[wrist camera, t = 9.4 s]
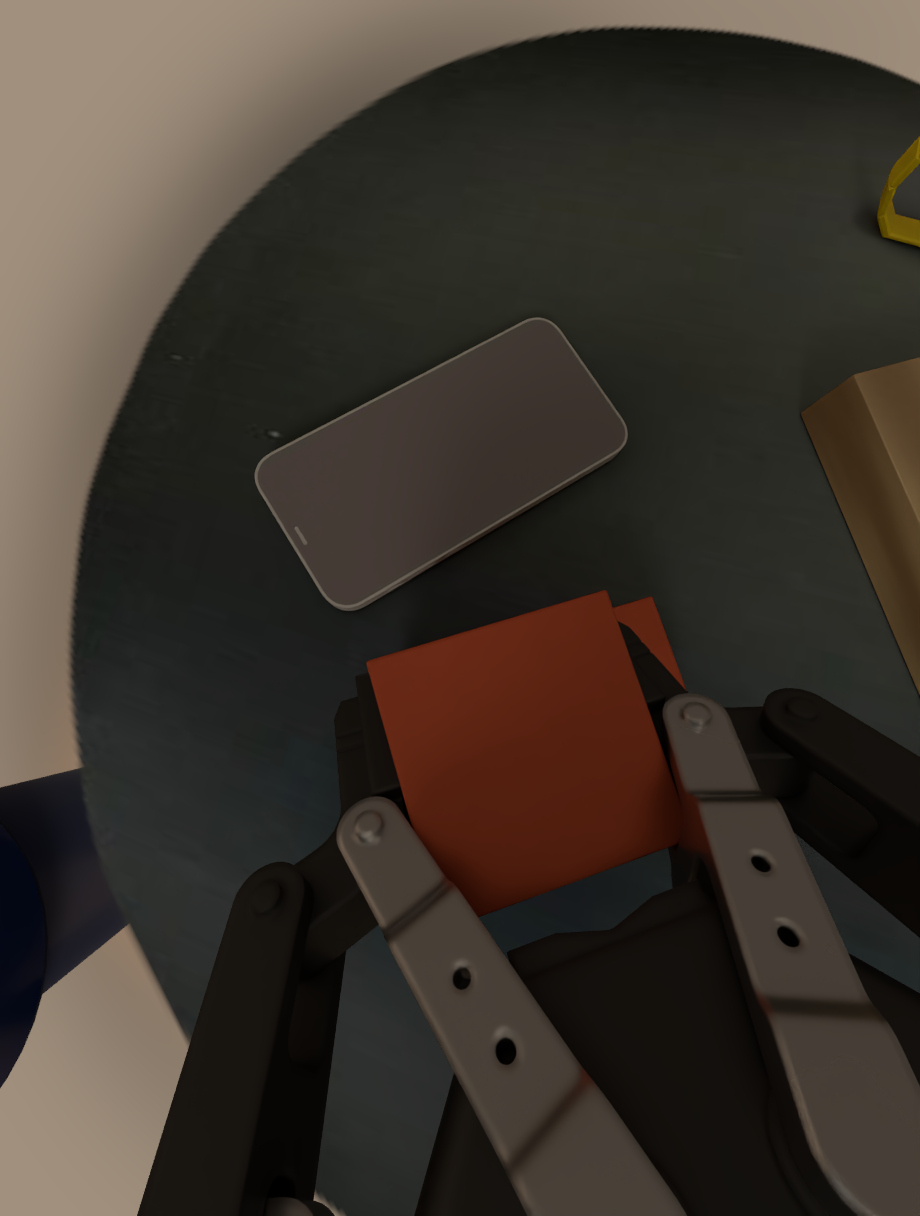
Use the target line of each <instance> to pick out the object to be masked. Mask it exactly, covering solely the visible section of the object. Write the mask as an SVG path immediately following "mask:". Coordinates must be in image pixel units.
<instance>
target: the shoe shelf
mask: <svg viewBox="0 0 920 1216" xmlns="http://www.w3.org/2000/svg"><path fill="white" fill-rule="evenodd" d="M801 416H802V419H803V421H804V423H805V426H806V428H807V430H808V433H809V435H810V437H811V440H812V442H813V445H814V447H815V449H816V452H817V454H818V456H819V459H820V461H821V463H822V466H823V468H824V471H825V473H826V475H827V478H828V480H829V482H830V485H831V487H832V489H833V492H834V494H835V497H836V499H837V501H838V504H839V506H840V508H841V511H842V513H843V515H844V518H845V520H846V523H847V525H848V527H849V530H850V532H851V534H852V537H853V539H854V541H855V544H856V546H857V549H858V551H859V553H860V556H861V558H862V560H863V563H864V565H865V567H866V570H867V572H868V575H869V577H870V579H871V582H872V584H873V586H874V589H875V591H876V593H877V596H878V598H879V601H880V603H881V605H882V608H883V610H884V612H885V615H886V617H887V619H888V622H889V624H890V627H891V629H892V631H893V634H894V636H895V638H896V641H897V643H898V645H899V648H900V650H901V653H902V655H903V657H904V660H905V662H906V664H907V667H908V669H909V671H910V674H911V676H912V679H913V681H914V683H915V686H916V688H917V690H918V693H919V695H920V357H919V358H915V359H912V360H908V361H904V362H900V363H896V364H892V365H889V366H885V367H881V368H877V369H873V370H869V371H866V372H862V373H858V374H854V375H853V376H851V377H850V378H848V379H847V380H846V381H844V382H843V383H841V384H840V385H839V386H837V387H836V388H835V389H833V390H832V391H830V392H829V393H828V394H826V395H825V396H823V397H822V398H821V399H819V400H818V401H816V402H815V403H814V404H812V405H811V406H809V407H808V408H807V409H805V410H804V411H803V412H801Z"/></svg>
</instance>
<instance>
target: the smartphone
mask: <svg viewBox="0 0 920 1216" xmlns="http://www.w3.org/2000/svg"><path fill="white" fill-rule="evenodd" d="M627 436H628V433H627V427H626V425H625V423H624V421H623V419H622V417H621V416H620V415H619V413H618V412H617V410H616V409H615V407H614V406H613V405H612V403H611V402H610V400H609V399H608V397H607V396H606V395H605V393H604V392H603V390H602V389H601V387H600V386H599V385H598V383H597V382H596V380H595V379H594V377H593V376H592V375H591V373H590V372H589V370H588V369H587V367H586V366H585V365H584V363H583V362H582V360H581V359H580V357H579V356H578V355H577V353H576V352H575V350H574V349H573V347H572V346H571V345H570V343H569V342H568V340H567V339H566V338H565V336H564V335H563V333H562V332H561V330H560V329H559V328H558V327H557V326H556V325H555V324H554V323H553V322H551V321H549V320H547V319H543V318H531V319H527V320H525V321H523V322H521V323H519V324H517V325H515V326H513V327H511V328H509V329H508V330H506V331H504V332H502V333H500V334H498V335H496V336H494V337H492V338H490V339H488V340H486V341H484V342H483V343H481V344H479V345H477V346H475V347H473V348H471V349H469V350H467V351H465V352H463V353H461V354H459V355H458V356H456V357H454V358H452V359H450V360H448V361H446V362H444V363H442V364H440V365H438V366H436V367H434V368H433V369H431V370H429V371H427V372H425V373H423V374H421V375H419V376H417V377H415V378H413V379H411V380H410V381H408V382H406V383H404V384H402V385H400V386H398V387H396V388H394V389H392V390H390V391H388V392H386V393H385V394H383V395H381V396H379V397H377V398H375V399H373V400H371V401H369V402H367V403H365V404H363V405H361V406H360V407H358V408H356V409H354V410H352V411H350V412H348V413H346V414H344V415H342V416H340V417H338V418H337V419H335V420H333V421H331V422H329V423H327V424H325V425H323V426H321V427H319V428H317V429H315V430H313V431H312V432H310V433H308V434H306V435H304V436H302V437H300V438H298V439H296V440H294V441H292V442H290V443H288V444H287V445H285V446H283V447H281V448H279V449H277V450H275V451H273V452H271V453H270V454H268V455H266V456H265V457H264V458H263V459H262V460H261V461H260V462H259V464H258V466H257V468H256V471H255V482H256V485H257V488H258V490H259V492H260V493H261V495H262V497H263V498H264V500H265V502H266V503H267V505H268V507H269V508H270V510H271V511H272V513H273V515H274V516H275V518H276V520H277V521H278V523H279V525H280V526H281V528H282V530H283V531H284V533H285V534H286V536H287V538H288V539H289V541H290V543H291V544H292V546H293V548H294V549H295V551H296V553H297V554H298V556H299V557H300V559H301V561H302V562H303V564H304V566H305V567H306V569H307V571H308V572H309V574H310V576H311V577H312V579H313V580H314V582H315V584H316V585H317V587H318V589H319V590H320V592H321V593H322V595H323V596H324V597H325V598H326V600H327V601H328V602H330V603H331V604H332V605H333V606H334V607H336V608H338V609H341V610H345V611H353V610H357V609H360V608H363V607H365V606H367V605H368V604H370V603H372V602H373V601H375V600H377V599H378V598H380V597H382V596H384V595H385V594H387V593H389V592H390V591H392V590H394V589H395V588H397V587H399V586H400V585H402V584H404V583H405V582H407V581H409V580H410V579H412V578H414V577H415V576H417V575H419V574H420V573H422V572H424V571H426V570H427V569H429V568H431V567H432V566H434V565H436V564H437V563H439V562H441V561H442V560H444V559H446V558H447V557H449V556H451V555H452V554H454V553H456V552H457V551H459V550H461V549H463V548H464V547H466V546H468V545H469V544H471V543H473V542H474V541H476V540H478V539H479V538H481V537H483V536H484V535H486V534H488V533H489V532H491V531H493V530H494V529H496V528H498V527H499V526H501V525H503V524H505V523H506V522H508V521H510V520H511V519H513V518H515V517H516V516H518V515H520V514H521V513H523V512H525V511H526V510H528V509H530V508H531V507H533V506H535V505H536V504H538V503H540V502H542V501H543V500H545V499H547V498H548V497H550V496H552V495H553V494H555V493H557V492H558V491H560V490H562V489H563V488H565V487H567V486H568V485H570V484H572V483H573V482H575V481H577V480H578V479H580V478H582V477H584V476H585V475H587V474H589V473H590V472H592V471H594V470H595V469H597V468H599V467H600V466H602V465H604V464H605V463H607V462H609V461H610V460H612V459H613V458H614V457H615V456H616V455H617V454H618V453H619V451H620V450H621V449H622V448H623V447H624V445H625V443H626V441H627Z"/></svg>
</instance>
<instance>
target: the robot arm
mask: <svg viewBox="0 0 920 1216" xmlns="http://www.w3.org/2000/svg"><path fill="white" fill-rule="evenodd" d="M617 622H618V624H619V627H620V630H621V633H622V636H623V639H624V641H625V644H626V647H627V650H628V653H629V656H630V659H631V661H632V664H633V667H634V670H635V673H636V676H637V679H638V681H639V684H640V687H641V690H642V693H643V696H644V699H645V701H646V704H647V707H648V710H649V713H650V716H651V719H652V721H653V724H654V727H655V730H656V733H657V736H658V739H659V741H660V744H661V747H662V750H663V753H664V756H665V759H666V761H667V764H668V767H669V770H670V773H671V776H672V779H673V781H674V784H675V787H676V790H677V793H678V796H679V799H680V801H681V805H682V811H683V827H682V831H681V836H680V840H679V843H678V844H676V845H673V846H670V847H668V850H669V855H670V861H671V876H672V886H673V889H671V890H668V891H665V892H663V893H660V894H658V895H655V896H652V897H651V898H650V899H649V900H648V901H646V902H645V903H644V904H643V905H641V906H640V907H639V908H638V909H637V910H635V911H634V912H633V913H632V914H630V915H629V916H628V917H627V918H626V919H624V920H623V921H622V922H621V923H619V924H618V925H617V926H616V927H614V928H613V929H610V930H602V931H587V932H571V933H555V934H553V935H550V936H547V937H545V938H542V939H540V940H537V941H534V942H532V943H529V944H526V945H524V946H521V947H519V948H516V949H513V950H511V951H508V952H507V955H508V958H509V961H508V960H507V958H506V957H505V955H504V954H503V952H502V951H501V950H500V948H499V947H498V945H497V944H496V942H495V941H494V939H493V938H492V937H491V935H490V934H489V932H488V931H487V929H486V928H485V926H484V925H483V924H482V922H481V921H480V919H479V918H478V916H477V915H476V913H475V912H474V911H473V909H472V908H471V906H470V905H469V903H468V902H467V900H466V899H465V898H464V896H463V895H462V893H461V892H460V891H459V889H458V888H457V887H456V885H455V884H454V883H453V882H452V881H449V880H448V879H447V878H446V876H445V875H444V874H443V872H442V871H441V869H440V868H439V866H438V865H437V863H436V862H435V860H434V859H433V858H432V856H431V855H430V853H429V852H428V850H427V849H426V847H425V846H424V844H423V843H422V841H421V840H420V839H419V837H418V836H417V834H416V833H415V831H414V830H413V828H412V826H411V822H410V818H409V815H408V811H407V808H406V804H405V801H404V797H403V793H402V790H401V786H400V783H399V779H398V776H397V772H396V768H395V765H394V761H393V758H392V754H391V750H390V747H389V743H388V740H387V736H386V733H385V729H384V725H383V722H382V718H381V715H380V711H379V708H378V704H377V700H376V697H375V693H374V690H373V686H372V682H371V679H370V675H369V672H368V673H365V674H362V675H358V676H356V686H357V693H358V697H355V698H352V699H348V700H345V701H342V702H341V703H340V706H339V708H338V711H337V713H336V716H335V719H334V723H335V736H336V748H337V761H338V773H339V786H340V798H341V814H340V818H339V822H338V824H337V826H336V828H335V830H334V832H333V833H332V835H331V836H330V837H329V838H328V840H327V841H326V842H325V843H324V844H323V845H322V846H320V847H319V848H318V849H317V850H315V851H314V852H312V853H311V854H309V855H308V856H307V857H305V858H304V859H302V860H301V861H299V862H298V863H296V864H295V865H292V864H290V863H286V862H275V863H271V864H268V865H266V866H264V867H262V868H260V869H259V870H257V871H256V872H254V873H253V874H252V875H251V876H250V877H249V878H248V879H247V880H246V881H245V882H244V883H243V885H242V886H241V888H240V889H239V891H238V893H237V895H236V897H235V899H234V902H233V905H232V908H231V912H230V915H229V918H228V921H227V925H226V928H225V931H224V934H223V938H222V941H221V944H220V947H219V951H218V954H217V957H216V961H215V964H214V967H213V970H212V974H211V977H210V980H209V983H208V987H207V990H206V993H205V996H204V1000H203V1003H202V1006H201V1009H200V1013H199V1016H198V1019H197V1022H196V1026H195V1029H194V1032H193V1035H192V1039H191V1042H190V1045H189V1048H188V1052H187V1055H186V1058H185V1061H184V1065H183V1068H182V1071H181V1074H180V1078H179V1081H178V1084H177V1087H176V1091H175V1094H174V1097H173V1100H172V1104H171V1107H170V1110H169V1114H168V1117H167V1120H166V1123H165V1126H164V1130H163V1133H162V1136H161V1139H160V1143H159V1146H158V1149H157V1152H156V1156H155V1159H154V1163H153V1165H152V1169H151V1172H150V1175H149V1178H148V1182H147V1185H146V1188H145V1192H144V1195H143V1198H142V1202H141V1204H140V1208H139V1211H138V1214H137V1216H335V1215H334V1214H333V1213H332V1212H331V1210H330V1209H329V1208H328V1207H326V1206H325V1205H323V1204H322V1203H319V1202H317V1201H313V1199H314V1192H315V1184H316V1176H317V1169H318V1161H319V1153H320V1146H321V1138H322V1131H323V1123H324V1115H325V1108H326V1100H327V1092H328V1085H329V1077H330V1069H331V1062H332V1054H333V1047H334V1039H335V1031H336V1024H337V1016H338V1008H339V1001H340V993H341V985H342V978H343V970H344V963H345V955H346V950H347V949H349V948H350V947H351V946H352V945H354V944H355V943H356V942H357V941H359V940H360V939H361V938H362V937H364V936H365V935H366V934H367V933H368V932H370V931H371V930H372V929H373V928H375V927H376V926H377V925H378V924H379V926H380V928H381V930H382V932H383V934H384V937H385V940H386V942H387V944H388V946H389V948H390V950H391V952H392V954H393V956H394V958H395V960H396V962H397V964H398V965H399V967H400V969H401V971H402V973H403V975H404V977H405V979H406V981H407V983H408V985H409V987H410V988H411V990H412V992H413V994H414V996H415V998H416V1000H417V1002H418V1004H419V1006H420V1008H421V1010H422V1012H423V1013H424V1015H425V1017H426V1019H427V1021H428V1023H429V1025H430V1027H431V1029H432V1031H433V1033H434V1035H435V1036H436V1038H437V1040H438V1042H439V1044H440V1046H441V1048H442V1050H443V1052H444V1054H445V1056H446V1058H447V1059H448V1061H449V1063H450V1065H451V1067H452V1069H453V1071H454V1075H453V1079H452V1082H451V1086H450V1090H449V1093H448V1097H447V1100H446V1104H445V1107H444V1111H443V1115H442V1118H441V1122H440V1125H439V1129H438V1133H437V1136H436V1140H435V1143H434V1147H433V1151H432V1154H431V1158H430V1161H429V1165H428V1168H427V1172H426V1176H425V1179H424V1183H423V1186H422V1190H421V1194H420V1197H419V1201H418V1204H417V1208H416V1212H415V1215H414V1216H920V993H918V992H916V991H914V990H913V989H911V988H909V987H907V986H906V985H904V984H902V983H900V982H899V981H897V980H895V979H893V978H892V977H890V976H888V975H886V974H884V973H883V972H881V971H879V970H877V969H876V968H874V967H872V966H870V965H869V964H867V963H865V962H863V961H862V960H860V959H858V958H856V957H854V956H853V955H851V954H849V953H848V952H847V950H846V948H845V945H844V943H843V941H842V939H841V936H840V934H839V932H838V930H837V928H836V925H835V923H834V921H833V919H832V916H831V914H830V912H829V910H828V907H827V905H826V903H825V901H824V899H823V896H822V894H821V892H820V890H819V887H818V885H817V883H816V881H815V879H814V876H813V874H812V872H811V870H810V867H809V865H808V863H807V861H806V858H805V856H804V854H803V852H802V850H801V847H800V845H799V843H798V841H797V838H796V836H795V834H794V833H796V834H797V835H798V836H799V837H800V838H802V839H803V840H804V841H805V842H806V843H808V844H809V845H810V846H811V847H812V848H813V849H815V850H816V851H817V852H818V853H819V854H821V855H822V856H823V857H824V858H825V859H827V860H828V861H829V862H830V863H831V864H833V865H834V866H835V867H836V868H837V869H838V870H840V871H841V872H842V873H843V874H844V875H846V876H847V877H848V878H849V879H850V880H852V881H853V882H854V883H855V884H856V885H858V886H859V887H860V888H861V889H862V890H864V891H865V892H866V893H867V894H868V895H869V896H871V897H872V898H873V899H874V900H875V901H877V902H878V903H879V904H880V905H881V906H883V907H884V908H885V909H886V910H887V911H889V912H890V913H891V914H892V915H893V916H894V917H896V918H897V919H898V920H899V921H900V922H902V923H903V924H904V925H905V926H906V927H908V928H909V929H910V930H911V931H912V932H914V933H915V934H916V935H917V936H918V937H920V757H919V756H917V755H916V754H914V753H912V752H911V751H909V750H908V749H906V748H904V747H903V746H901V745H899V744H898V743H896V742H894V741H893V740H891V739H889V738H888V737H886V736H884V735H883V734H881V733H879V732H878V731H876V730H875V729H873V728H871V727H870V726H868V725H866V724H865V723H863V722H861V721H860V720H858V719H856V718H855V717H853V716H851V715H850V714H848V713H846V712H845V711H843V710H842V709H840V708H838V707H837V706H835V705H833V704H832V703H830V702H828V701H827V700H825V699H823V698H822V697H820V696H818V695H816V694H814V693H811V692H808V691H805V690H801V689H794V688H784V689H779V690H776V691H774V692H772V693H770V694H769V695H768V696H767V698H766V700H765V703H764V706H763V707H737V708H724V707H722V706H721V705H720V704H719V703H718V702H716V701H715V700H713V699H711V698H709V697H706V696H703V695H700V694H693V693H688V692H687V691H686V690H685V689H684V687H683V686H682V685H681V684H680V683H679V682H678V681H677V680H676V678H675V677H674V676H673V675H672V674H671V673H670V672H669V671H668V670H667V668H666V667H665V666H664V665H663V664H662V663H661V662H660V661H659V659H658V658H657V657H656V656H655V655H654V654H653V653H651V652H650V649H649V648H648V647H647V646H646V645H645V644H644V643H642V642H641V639H640V638H639V637H638V636H637V635H636V634H635V633H634V631H633V630H632V629H631V628H630V627H628V626H627V625H625V624H623V623H621V622H619V621H617ZM817 773H818V774H817ZM821 776H822V777H821ZM824 778H825V779H824ZM828 781H829V782H828ZM831 783H832V784H833V785H832V784H831ZM835 786H836V787H835ZM839 789H840V790H839ZM842 791H843V792H842ZM846 794H847V795H846ZM849 796H850V797H851V798H850V797H849ZM853 799H854V800H853ZM857 802H858V803H857ZM860 804H861V805H860ZM864 807H865V808H864ZM509 962H510V963H509Z"/></svg>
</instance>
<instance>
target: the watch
mask: <svg viewBox="0 0 920 1216" xmlns="http://www.w3.org/2000/svg"><path fill="white" fill-rule="evenodd" d="M919 164H920V136H919V138H918V139H917V140H916V141H915V142H914V143H913V144H912V145H911V146H910V147H909V149H908V150H907V151H906V152H905V153H904V154H903V155H902V156H901V157H900V159H899V160H898V161H897V162H896V163H895V164H894V167H893V168H892V169H891V171H890V174H889V176H888V179H887V182H886V184H885V187H884V189H883V192H882V195H881V199H880V204H879V208H878V213H877V214H878V215H877V220H878V224H879V228H880V231H881V235H882V237H884V238H888V239H892V240H896V241H900V242H903V243H907V244H911V245H915V246H918V247H920V220H916V219H912V218H908V217H904V216H900V215H897V214H895V211H894V207H893V202H892V198H893V196H894V193H895V191H896V189H897V187H898V186H899V185H900V183H901V182H902V181H903V180H904V179H905V178H906V177H907V176H908V175H909V174H910V173H911V172H912V171H913V170H914V169H915V168H916V167H917V166H918V165H919Z"/></svg>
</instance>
